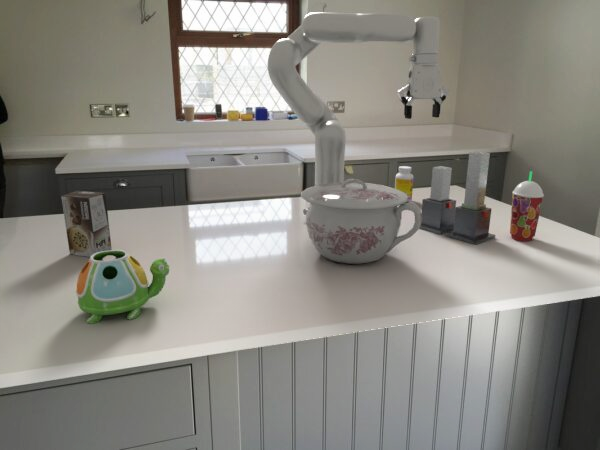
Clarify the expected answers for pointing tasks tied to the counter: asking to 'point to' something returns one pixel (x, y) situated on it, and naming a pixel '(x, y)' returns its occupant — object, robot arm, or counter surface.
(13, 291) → the counter surface
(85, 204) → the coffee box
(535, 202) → the smoothie
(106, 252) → the turtle holder
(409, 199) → the supplement bottle
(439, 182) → the column
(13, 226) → the counter surface
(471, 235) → the twin stand
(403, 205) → the chamber pot
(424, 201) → the stand sleeve
